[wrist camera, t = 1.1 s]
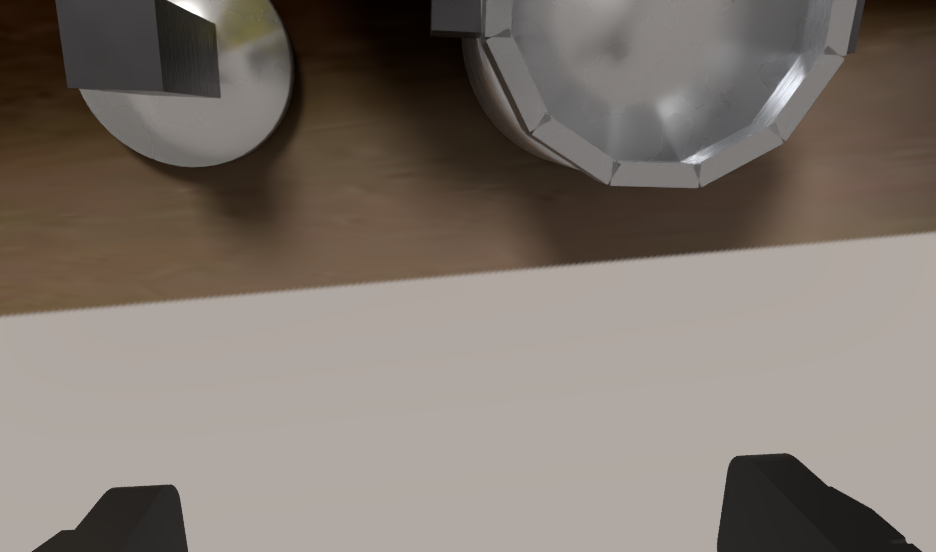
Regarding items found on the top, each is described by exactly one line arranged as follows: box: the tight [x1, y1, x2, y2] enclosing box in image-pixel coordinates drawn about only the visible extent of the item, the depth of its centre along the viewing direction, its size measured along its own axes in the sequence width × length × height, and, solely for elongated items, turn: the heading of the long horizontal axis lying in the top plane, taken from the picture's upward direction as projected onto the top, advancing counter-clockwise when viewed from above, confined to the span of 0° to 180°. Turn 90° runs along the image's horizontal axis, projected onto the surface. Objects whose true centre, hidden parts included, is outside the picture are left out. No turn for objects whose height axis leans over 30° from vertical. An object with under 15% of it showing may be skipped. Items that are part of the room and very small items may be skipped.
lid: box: [55, 0, 295, 167], centre depth 22 cm, size 9×9×7 cm
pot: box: [430, 0, 865, 188], centre depth 22 cm, size 12×15×9 cm
